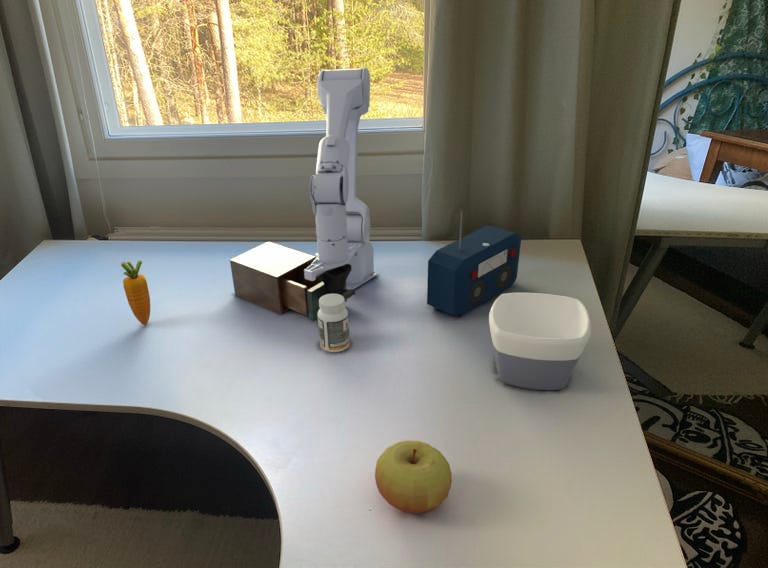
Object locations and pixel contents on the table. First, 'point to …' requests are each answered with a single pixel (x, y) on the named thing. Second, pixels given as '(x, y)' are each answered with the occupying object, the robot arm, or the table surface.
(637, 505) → the table surface
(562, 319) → the bowl
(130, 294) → the carrot
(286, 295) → the drawer
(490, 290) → the radio
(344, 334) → the pill bottle
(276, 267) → the cabinet
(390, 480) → the apple
